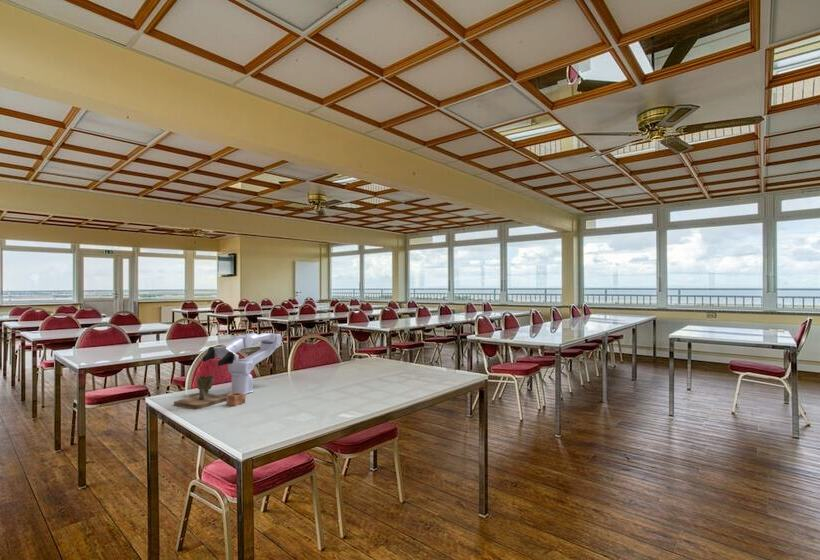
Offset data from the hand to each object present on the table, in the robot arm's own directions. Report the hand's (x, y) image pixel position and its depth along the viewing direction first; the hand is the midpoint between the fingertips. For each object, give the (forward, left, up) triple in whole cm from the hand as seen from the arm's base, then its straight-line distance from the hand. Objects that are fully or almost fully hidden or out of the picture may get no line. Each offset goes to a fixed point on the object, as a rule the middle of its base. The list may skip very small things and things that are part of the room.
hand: (211, 361), depth 185 cm
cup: (-12, -17, -19) cm, 28 cm away
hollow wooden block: (-6, +9, -18) cm, 21 cm away
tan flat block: (0, -5, -18) cm, 19 cm away
